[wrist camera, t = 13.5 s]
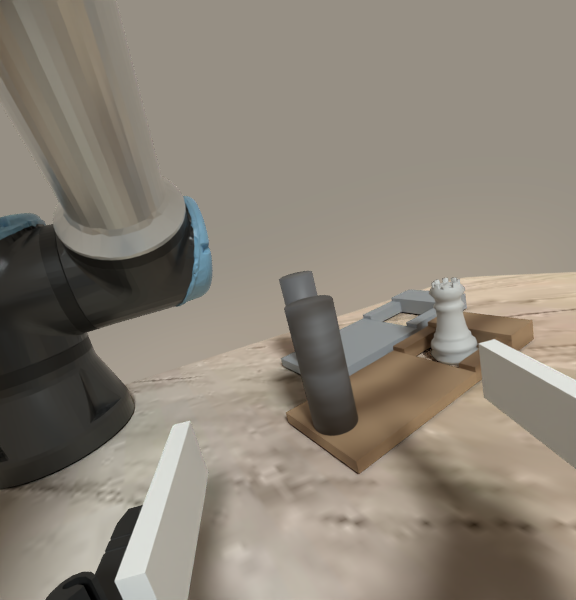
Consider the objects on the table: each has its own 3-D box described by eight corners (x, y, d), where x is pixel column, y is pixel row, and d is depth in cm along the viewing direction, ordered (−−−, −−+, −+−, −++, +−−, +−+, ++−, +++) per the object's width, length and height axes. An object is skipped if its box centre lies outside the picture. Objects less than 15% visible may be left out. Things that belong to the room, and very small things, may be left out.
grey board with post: (282, 365, 43) (260, 279, 40) (411, 301, 54) (400, 231, 51) (328, 387, 35) (304, 283, 32) (466, 307, 46) (457, 225, 44)
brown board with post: (288, 422, 31) (256, 306, 28) (450, 325, 42) (438, 236, 40) (359, 474, 23) (325, 321, 21) (533, 339, 35) (526, 229, 32)
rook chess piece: (449, 371, 33) (438, 291, 31) (423, 355, 37) (412, 283, 36) (490, 357, 34) (482, 278, 32) (459, 342, 38) (451, 272, 36)
